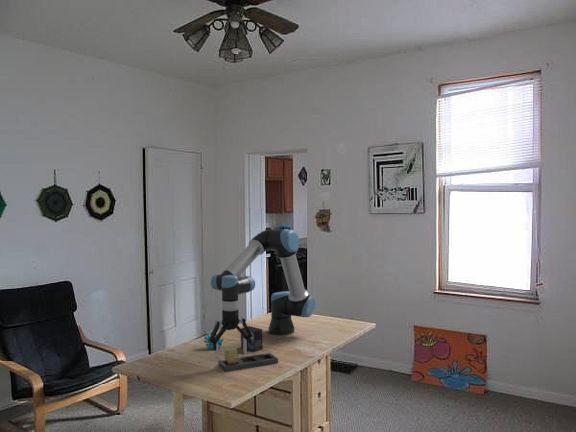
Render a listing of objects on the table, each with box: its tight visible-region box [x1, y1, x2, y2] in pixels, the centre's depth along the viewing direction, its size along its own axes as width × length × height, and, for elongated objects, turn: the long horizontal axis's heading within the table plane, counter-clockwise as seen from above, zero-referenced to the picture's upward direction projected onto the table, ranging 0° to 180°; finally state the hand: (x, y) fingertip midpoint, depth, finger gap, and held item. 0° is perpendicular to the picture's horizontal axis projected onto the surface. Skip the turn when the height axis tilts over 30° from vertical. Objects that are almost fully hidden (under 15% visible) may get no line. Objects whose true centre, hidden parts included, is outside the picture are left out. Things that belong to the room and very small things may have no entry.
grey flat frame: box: [218, 352, 279, 373], centre depth 230 cm, size 26×10×2 cm, turn 115°
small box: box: [240, 325, 264, 352], centre depth 254 cm, size 11×6×10 cm, turn 47°
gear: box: [203, 331, 225, 350], centre depth 257 cm, size 11×6×10 cm
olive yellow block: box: [224, 347, 239, 366], centre depth 226 cm, size 4×4×8 cm
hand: (231, 355), depth 226 cm, fingers open, 13 cm apart
